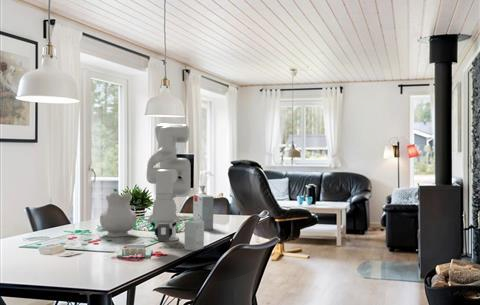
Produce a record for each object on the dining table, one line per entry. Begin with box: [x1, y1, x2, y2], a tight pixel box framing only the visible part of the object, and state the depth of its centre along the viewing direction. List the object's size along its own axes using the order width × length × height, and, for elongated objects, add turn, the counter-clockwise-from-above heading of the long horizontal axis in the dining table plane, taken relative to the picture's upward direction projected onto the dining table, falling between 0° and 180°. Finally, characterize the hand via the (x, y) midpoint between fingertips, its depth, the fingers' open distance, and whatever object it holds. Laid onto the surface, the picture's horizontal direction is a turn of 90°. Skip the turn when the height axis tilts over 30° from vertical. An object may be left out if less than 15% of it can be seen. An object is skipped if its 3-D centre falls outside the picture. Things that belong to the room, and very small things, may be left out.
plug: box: [157, 224, 170, 242], centre depth 231 cm, size 5×5×7 cm
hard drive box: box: [192, 193, 214, 231], centre depth 308 cm, size 16×8×20 cm, turn 25°
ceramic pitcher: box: [99, 188, 138, 238], centre depth 277 cm, size 22×20×25 cm
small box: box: [184, 219, 205, 252], centre depth 242 cm, size 8×6×13 cm
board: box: [116, 244, 153, 259], centre depth 225 cm, size 14×14×4 cm
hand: (163, 236), depth 232 cm, fingers closed on plug, 5 cm apart
